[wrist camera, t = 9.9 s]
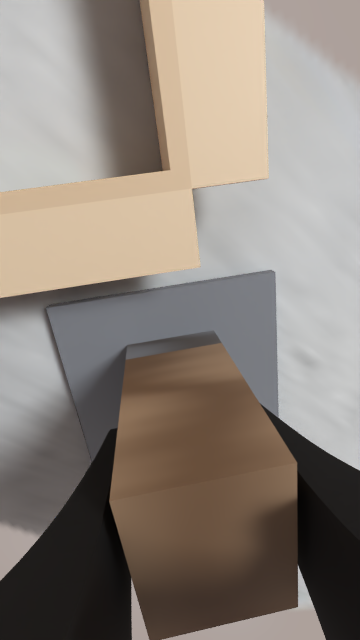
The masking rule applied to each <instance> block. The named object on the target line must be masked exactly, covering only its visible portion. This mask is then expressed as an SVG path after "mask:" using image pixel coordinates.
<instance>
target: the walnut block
mask: <svg viewBox="0 0 360 640" xmlns="http://www.w3.org/2000/svg"><path fill="white" fill-rule="evenodd" d="M109 502H110V505H111V509H112V512H113V516H114V519H115V523H116V526H117V530H118V533H119V536H120V540H121V543H122V547H123V550H124V554H125V557H126V560H127V564H128V567H129V571H130V574H131V578H132V581H133V584H134V588H135V591H136V595H137V598H138V602H139V605H140V609H141V612H142V615H143V619H144V622H145V626H146V629H147V633H148V636H149V639H150V640H162V639H166V638H169V637H174V636H178V635H182V634H187V633H191V632H195V631H199V630H203V629H208V628H212V627H216V626H220V625H224V624H228V623H233V622H237V621H241V620H245V619H250V618H254V617H258V616H262V615H266V614H271V613H275V612H279V611H283V610H287V609H292V608H296V607H298V531H297V462H296V460H295V459H294V457H293V455H292V454H291V452H290V451H289V449H288V447H287V446H286V444H285V443H284V441H283V439H282V438H281V436H280V435H279V433H278V432H277V430H276V428H275V427H274V425H273V424H272V422H271V420H270V419H269V417H268V416H267V414H266V412H265V411H264V409H263V408H262V406H261V405H260V403H259V401H258V400H257V398H256V397H255V395H254V393H253V392H252V390H251V389H250V387H249V385H248V384H247V382H246V381H245V379H244V378H243V376H242V374H241V373H240V371H239V370H238V368H237V366H236V365H235V363H234V362H233V360H232V358H231V357H230V355H229V354H228V352H227V351H226V349H225V347H224V346H223V344H222V343H221V341H220V339H219V338H218V336H217V335H216V333H215V331H214V330H212V331H206V332H200V333H194V334H188V335H182V336H177V337H171V338H165V339H159V340H153V341H148V342H142V343H136V344H130V345H127V352H126V361H125V370H124V378H123V387H122V396H121V404H120V413H119V422H118V430H117V439H116V448H115V456H114V465H113V474H112V482H111V491H110V500H109Z"/></svg>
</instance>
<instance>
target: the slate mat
mask: <svg viewBox="0 0 360 640" xmlns="http://www.w3.org/2000/svg"><path fill="white" fill-rule="evenodd" d="M46 310H47V313H48V316H49V320H50V323H51V326H52V330H53V333H54V337H55V340H56V343H57V347H58V350H59V353H60V357H61V360H62V363H63V367H64V370H65V373H66V377H67V380H68V383H69V387H70V390H71V393H72V397H73V400H74V403H75V407H76V410H77V413H78V417H79V420H80V423H81V427H82V430H83V433H84V437H85V440H86V444H87V447H88V450H89V454H90V457H91V460H92V462H93V460H94V458H95V456H96V454H97V453H98V451H99V449H100V447H101V445H102V443H103V441H104V439H105V437H106V435H107V433H108V432H109V431H110V429H115V428H118V422H119V413H120V404H121V396H122V387H123V378H124V370H125V361H126V352H127V345H130V344H136V343H142V342H148V341H153V340H159V339H165V338H171V337H177V336H182V335H188V334H194V333H200V332H206V331H212V330H214V331H215V333H216V335H217V336H218V338H219V339H220V341H221V343H222V344H223V346H224V347H225V349H226V351H227V352H228V354H229V355H230V357H231V358H232V360H233V362H234V363H235V365H236V366H237V368H238V370H239V371H240V373H241V374H242V376H243V378H244V379H245V381H246V382H247V384H248V385H249V387H250V389H251V390H252V392H253V393H254V395H255V397H256V398H257V400H258V401H259V403H260V404H262V405H263V406H264V407H265V408H267V409H268V410H269V411H270V412H272V413H273V414H274V415H275V416H277V417H278V373H277V328H276V283H275V272H274V271H272V270H268V271H262V272H256V273H249V274H243V275H236V276H230V277H224V278H217V279H211V280H204V281H198V282H192V283H185V284H179V285H172V286H166V287H160V288H153V289H147V290H140V291H134V292H128V293H121V294H115V295H108V296H102V297H96V298H89V299H83V300H77V301H70V302H64V303H57V304H51V305H49V306H48V307H47V308H46Z"/></svg>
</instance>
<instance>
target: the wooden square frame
mask: <svg viewBox="0 0 360 640" xmlns="http://www.w3.org/2000/svg"><path fill="white" fill-rule="evenodd" d="M140 8H141V15H142V22H143V30H144V37H145V44H146V52H147V59H148V67H149V74H150V81H151V89H152V96H153V103H154V111H155V118H156V125H157V133H158V140H159V147H160V155H161V162H162V169H163V171H159V172H152V173H144V174H136V175H129V176H121V177H114V178H106V179H98V180H91V181H83V182H75V183H68V184H60V185H53V186H45V187H37V188H30V189H22V190H14V191H7V192H0V298H3V297H9V296H16V295H22V294H29V293H36V292H42V291H49V290H55V289H62V288H68V287H75V286H81V285H88V284H94V283H101V282H107V281H114V280H120V279H127V278H133V277H140V276H146V275H153V274H159V273H166V272H172V271H179V270H185V269H192V268H198V267H200V258H199V249H198V240H197V230H196V221H195V212H194V203H193V193H192V189H196V188H204V187H211V186H218V185H226V184H233V183H240V182H248V181H255V180H262V179H267V178H269V171H268V134H267V97H266V60H265V23H264V0H140Z"/></svg>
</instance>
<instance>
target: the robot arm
mask: <svg viewBox="0 0 360 640" xmlns="http://www.w3.org/2000/svg"><path fill="white" fill-rule="evenodd" d="M260 405H261V406H262V408H263V409H264V411H265V412H266V414H267V416H268V417H269V419H270V420H271V422H272V424H273V425H274V427H275V428H276V430H277V432H278V433H279V435H280V436H281V438H282V439H283V441H284V443H285V444H286V446H287V447H288V449H289V451H290V452H291V454H292V455H293V457H294V459H295V460H296V462H297V531H298V566H299V569H300V571H301V574H302V576H303V579H304V581H305V584H306V587H307V589H308V592H309V595H310V597H311V600H312V603H313V605H314V608H315V611H316V613H317V616H318V619H319V621H320V624H321V627H322V630H323V632H324V635H325V638H326V640H360V471H359V470H357V469H355V468H353V467H352V466H350V465H348V464H346V463H345V462H343V461H341V460H339V459H337V458H336V457H334V456H332V455H331V454H329V453H327V452H326V451H324V450H322V449H321V448H319V447H318V446H316V445H315V444H313V443H312V442H310V441H309V440H307V439H306V438H305V437H303V436H302V435H300V434H299V433H298V432H296V431H295V430H294V429H292V428H291V427H289V426H288V425H287V424H286V423H284V422H283V421H282V420H280V419H279V418H278V417H277V416H275V415H274V414H273V413H272V412H270V411H269V410H268V409H267V408H265V407H264V406H263V405H262V404H260ZM117 430H118V428H115V429H110V431H109V432H108V433H107V435H106V437H105V439H104V441H103V443H102V445H101V447H100V449H99V451H98V453H97V454H96V456H95V458H94V460H93V462H92V463H91V465H90V467H89V468H88V470H87V472H86V473H85V475H84V477H83V478H82V480H81V482H80V483H79V485H78V486H77V488H76V489H75V491H74V492H73V494H72V495H71V497H70V498H69V500H68V501H67V503H66V504H65V505H64V507H63V508H62V510H61V511H60V512H59V514H58V515H57V516H56V518H55V519H54V520H53V522H52V523H51V524H50V525H49V527H48V528H47V529H46V530H45V532H44V533H43V534H42V535H41V536H40V538H39V539H38V540H37V541H36V542H35V544H34V545H33V546H32V547H31V548H30V550H29V551H28V552H27V553H26V554H25V555H24V556H23V558H22V559H21V560H20V561H19V562H18V563H17V564H16V565H15V566H14V567H13V568H12V569H11V570H10V571H9V573H8V574H7V575H6V576H5V577H4V578H3V579H2V580H1V581H0V640H132V633H131V630H132V628H131V574H130V571H129V567H128V564H127V560H126V557H125V554H124V550H123V547H122V543H121V540H120V536H119V533H118V530H117V526H116V523H115V519H114V516H113V512H112V509H111V505H110V502H109V500H110V491H111V482H112V474H113V465H114V456H115V448H116V439H117Z"/></svg>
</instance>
